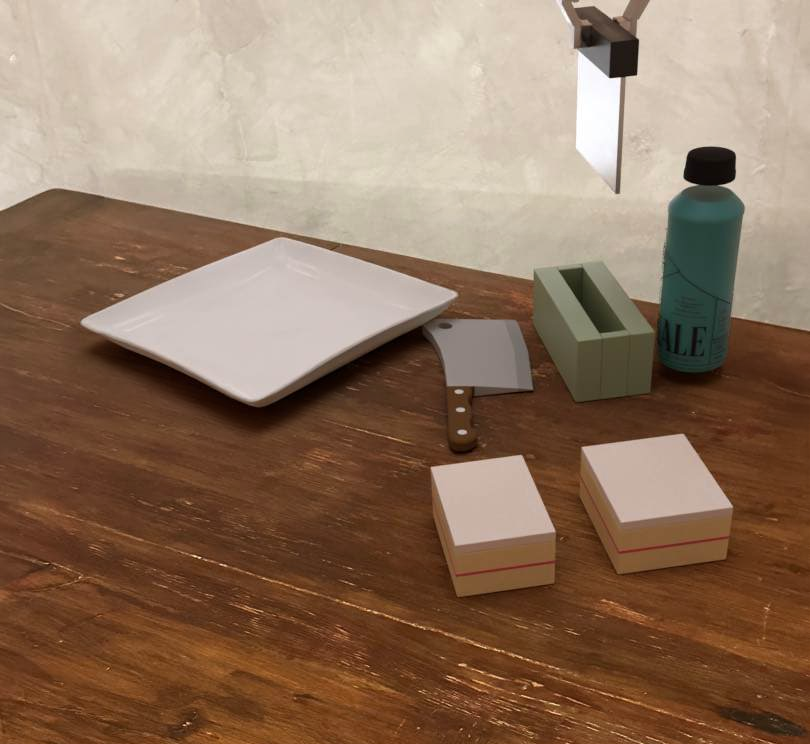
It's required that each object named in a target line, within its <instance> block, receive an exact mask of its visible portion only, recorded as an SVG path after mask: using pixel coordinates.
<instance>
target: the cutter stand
mask: <svg viewBox="0 0 810 744" xmlns="http://www.w3.org/2000/svg"><path fill="white" fill-rule="evenodd" d="M532 298H533V300H532V305H533V307H532V309H533V310H532V314H533V315H532V320H533V321H532V323H533V324H532V326H533V328H534V329H535V331H536V333H537V335H538V337H539V339H540V340H541V342H542V344H543V345H544V347H545V349H546V351H547V353H548V355H549V357H550V359H551V360H552V363H553V364H554V366H555V367H556V369H557V371H558V373H559V375H560V376H561V378H562V380H563V382H564V384H565V385H566V387H567V389H568V391H569V393H570V394H571V396H572V398H573V400H574V402H575V403H582V402H592V401H597V400H598V401H600V400H608V399H614V398H615V399H616V398H623V397H631V396H638V395H646V394H651V387H652V377H653V364H654V363H653V361H654V350H655V340H656V331H655V330H654V328H653V327H652V326H651V324H650V323H649V321H648V320H647V319H646V318H645V316H644V315H643V313H642V312H641V311H640V309H639V308H638V307H637V305H636V304H635V303H634V301H633V300H632V299H631V298H630V296H629V295H628V293H627V292H626V291H625V290H624V288H623V287H622V285H621V284H620V282H619V281H618V280H617V279H616V278H615V276H614V275H613V273H612V272H611V270H610V269H609V267H607V266H606V264H605V263H604V261H603V260H598V261H589V262H580V263H572V264H564V265H557V266H547V267H538V268H534V269H533V297H532Z"/></svg>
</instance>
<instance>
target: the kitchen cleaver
mask: <svg viewBox="0 0 810 744" xmlns="http://www.w3.org/2000/svg"><path fill="white" fill-rule="evenodd" d="M421 334H422V335H423V337H424V338H426V340H428V341H429V343H430V344H431V345H432V346H433V348H434V350H435V352H436V354H437V356H438V357H439V359H440V363H441V367H442V370H443V374H444V382H445V389H446V390H445V391H446V392H445V399H446V417H447V433H448V434H447V435H448V446H449V447H450V448H451V450H453V451H455V452H467V451H470V450H472V449H473V448H475V447H476V446H477V445H478V431H476V430H475V429H474V428H473V427H472V426H473V410H472V408H473V407H472V406H471V403H472V402H473V398H474V397H479V396H480V397H481V396H489V395H498V394H509V393H516V392H529V391H530V392H531V391H534V385H533V379H532V371H531V370H532V369H531V363H530V356H529V350H528V346H527V344H526V341H525V339H524V335H523V333H522V331H521V328H520V324H519V322H517V320H516V319H479V318H478V319H477V318H476V319H475V318H433V319H431V320H430V321H428V322H426V323H424V324H422V325H421Z"/></svg>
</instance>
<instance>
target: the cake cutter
mask: <svg viewBox="0 0 810 744" xmlns="http://www.w3.org/2000/svg"><path fill="white" fill-rule="evenodd" d="M574 9H575V11H576V13H577V15H578V17H579V19H580V20H587V21H589V23H591V24H592V25H593V26H592V35H591V36H590V37H591V39H592V41H591V47H588V48H580V49H576V50H577V87H576V88H577V89H576V92H577V93H576V96H577V97H576V127H575V128H576V129H575V131H576V132H575V149H576V150H577V151H578V152H579V154H580V155H581V156H582V157H583V158H584V160H586V162H587V163H588V164H589V165H590V166H591V168H592V169H593V170H594V171H595V172H596V173H597V175H598V176H599V177H600V178H601V180H603V182H604V183H605V184H606V185H607V187H608V188H609V189H610V190H611V191H612V192H613V193H614V194H615V195H619V194H621V183H622V165H623V163H622V160H623V143H624V142H623V140H624V121H625V105H626V104H625V100H626V83H627V82H626V81H627V77H628V78H629V77H636V76H638V70H639V69H638V68H639V52H640V39H639V38H638V37H637V36H636V37H635V36H634V35H632V34H631V33H630V32H628V31H627V30H626V29H624V28H623V27H622V26H620V25H619V24H618V23H616V22H615V21H614V20H613V18H611V17H610V16H609V15H607V14H605V12H603V11H602V10H601V9H600V8H598V7H596V6H595V5H590V6H589V5H588V6H581V7H574Z"/></svg>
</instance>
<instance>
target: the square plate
mask: <svg viewBox="0 0 810 744" xmlns="http://www.w3.org/2000/svg"><path fill="white" fill-rule="evenodd" d="M458 297H459V293H458V292H457V291H455V290H453V289H450V288H447V287H444V286H440V285H437V284H435V283H432V282H429V281H425V280H423V279H420V278H417V277H414V276H411V275H408V274H406V273H403V272H400V271H397V270H394V269H391V268H388V267H384V266H382V265H378V264H375V263H372V262H369V261H365V260H362V259H359V258H356V257H353V256H351V255H346V254H344V253H340V252H336V251H333V250H330V249H326V248H324V247H320V246H317V245H314V244H310V243H306V242H303V241H300V240H295V239H292V238H288V237H282V236H281V237H275V238H273V239H271V240H270V239H269V240H268V241H265V242H263V243H261V244H257V245H256V246H253V247H250V248H248V249H245V250H242V251H239V252H237V253H234V254H231V255H229V256H226V257H224V258H221V259H219V260H216V261H214V262H211V263H208V264H206V265H202V266H200V267H198V268H196V269H193V270H191V271H189V272H188V271H187V272H185V273H184V274H181V275H179V276H176V277H174V278H172V279H169V280H166V281H164V282H162V283H159V284H157V285H155V286H153V287H150V288H148V289H146V290H144V291H141V292H140V293H137V294H134V295H133V296H130V297H128V298H126V299H124V300H121V301H119V302H117V303H114V304H112V305H110V306H107V307H106V308H103V309H102V310H98V311H96V312H95V313H92V314H90V315H88V316H86V317H84V318H83V319H81V321H80V325H81V326H82V327H84V328H85V329H87V330H89V331H92V332H94V333H96V334H98V335H99V336H101V337H103V338H105V339H107V340H108V341H110V342H112V343H114V344H116V345H118V346H119V347H123V348H125V349H126V350H129V351H131V352H134V353H137V354H139V355H142V356H144V357H147V358H148V359H152V360H153V361H157V362H159V363H161V364H163V365H166V366H168V367H170V368H172V369H174V370H177V371H178V372H180V373H183V374H185V375H187V376H189V377H190V378H192V379H195V380H197V381H198V382H201V383H203V384H205V385H206V386H208V387H210V388H212V389H214V390H215V391H218V392H219V393H222V394H224V395H225V396H227V397H229V398H230V399H232V400H233V399H234V400H235V401H238V402H241V403H243V404H245V405H248V406H251V407H255V408H263V407H268V406H269V405H271V404H274V403H276V402H278V401H279V400H282V399H283V398H286V397H287V396H289V395H291V394H293V393H295V392H297V391H299V390H301V389H303V388H305V387H306V386H308V385H310V384H312V383H314V382H316V381H317V380H319V379H322V378H323V377H325V376H327V375H328V374H331V373H333V372H334V371H336V370H338V369H340V368H342V367H343V366H345V365H347V364H349V363H351V362H354V361H356V360H357V359H359V358H361V357H362V356H364V355H366V354H368V353H370V352H372V351H374V350H376V349H379V348H380V347H383V346H385V345H386V344H388V343H390V342H391V341H393V340H394V339H396V338H399V337H400V336H402V335H405V334H407V333H409V332H411V331H413V330H414V329H416V328H418V327H420V326H422V324H424V323H426V322H428V321H430V320H431V319H436V317H439V315H441V314H442V313H443V312H444V311H445V310H447V308H448V307H450V306H451V305H452V303H453V302H454V301H455V300H456V299H458Z"/></svg>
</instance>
